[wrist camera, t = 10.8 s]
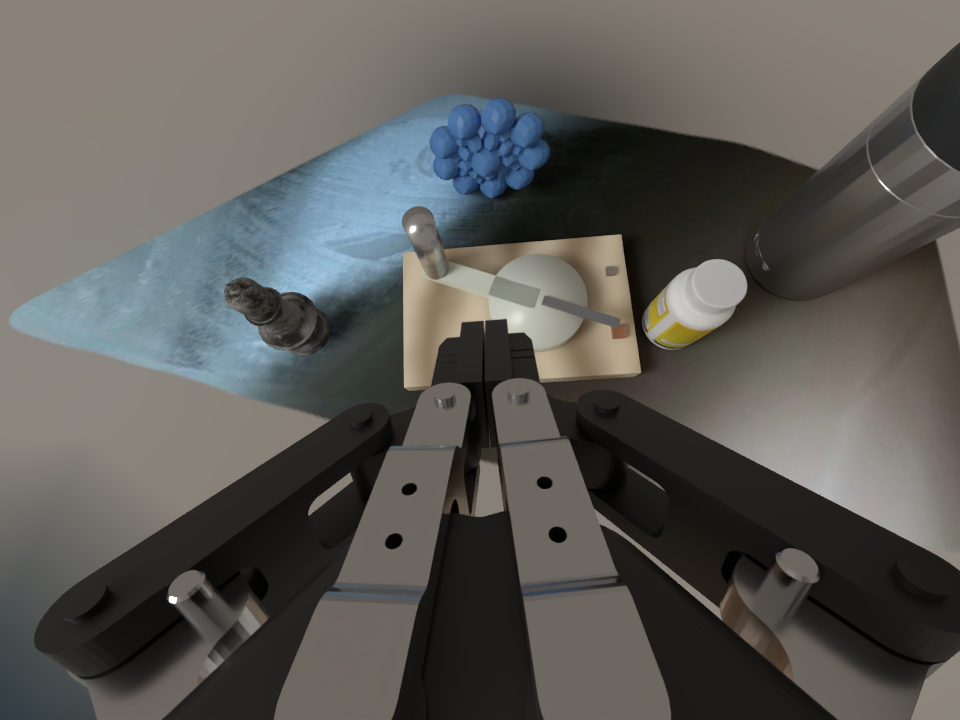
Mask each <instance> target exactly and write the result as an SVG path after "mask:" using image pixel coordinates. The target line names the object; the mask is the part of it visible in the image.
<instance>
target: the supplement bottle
mask: <svg viewBox="0 0 960 720" xmlns="http://www.w3.org/2000/svg"><path fill="white" fill-rule="evenodd" d="M746 292H747V280H746V277H745V275H744V273H743V272H742V271H741V269H740V268H739V267H737V266H736V265H735V264H733V263H731V262H729V261H726V260H721V259H713V260H709V261H706V262H704V263H702V264H701V265H699V266H698V267H696V268H691V269H687V270H685V271H683V272H681V273H680V274H679V275H677V276H676V277H675V278H674V279H673V280H672V281H671V282H670V283H669V284H668V285H667V286H666V287H665V288H664V289H663V290H662V292H661V293H660V294H659V295H658V296H657V297H656V298H655V299H654V300H653V301H652V302H651V303H650V304H649V306H648V307H647V308H646V310H645V312H644V314H643V318H642V327H643V330H644V333H645V334H646V336H647V337H648V339H649V340H650V341H651V342H652V343H654V344H655V345H657V346H659V347H661V348H664V349H668V350H677V349H681V348H684V347H686V346H688V345H690V344H692V343H693V342H695V341H697V340H698V339H700V338H702V337H703V336H705V335H706V334H708V333H710V332H711V331H713V330H714V329H716V328H718V327H719V326H721V325H722V324H724V323H725V322H726V321H727V320H728V319H729V318H730V317H731V316H732V314H733V313H734V310H735V308H736V305H737V304H738V303H740V302H741V301H742V299H743V298H744V297H745V295H746Z"/></svg>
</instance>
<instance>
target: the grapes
mask: <svg viewBox="0 0 960 720" xmlns="http://www.w3.org/2000/svg"><path fill="white" fill-rule="evenodd" d="M543 133H544V123H543V121H542V119H541V117H540V116H538V115H537V114H535V113H530V112H527V113H524V114H521V115H520V116H518V117H517V118H516V109H515V107H514V106H513V104H512V102H510V101H509V100H507V99H505V98H495V99H492V100H491V101H490V102H488V103H487V104H486V105H485V107H484V109H483V111H482V113H481V115H480V113H479V112H478V110H477V108H475V107H474V106H472V105H469V104H462V105H458V106H456V107H455V108H454V109H453V110H452V111H451V113H450V115H449V118H448V126H442V127H439V128H437V129H436V130H435V131H434V132H433V133H432V135H431V138H430V140H429V141H430V148H431V150H432V152H433V153H434V155H436V157H435V159H434V162H433V168H434V171H435V173H436V174H437V176H438V177H440V178H441V179H443V180H449V179H452V178H453V186H454V187H455V189H456V191H458V192H459V193H460V194H463V195H467V194H470V193H472V192H473V191H475V190H476V189H477V187H478V185H479V184H480V190H481V192H482V193H483V194H484V195H485V196H486V197H488V198H495V197H498V196H500V195H501V194H502V193H504V191H505V189H506V188H507V185H508V186H509V187H511V188H512V189H516V190H519V189H522V188H525V187H526V186H527V185H529V184H530V183H531V181H532V179H533V178H534V170H536V169H538V168H540V167H541V166H543V165H544V164H545V163H546V162H547V160H548V158H549V157H550V148H549V146H548V144H547V142H545V141H544V140H542V139H540V138H541V137H542V135H543Z"/></svg>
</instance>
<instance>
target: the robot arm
mask: <svg viewBox="0 0 960 720" xmlns="http://www.w3.org/2000/svg"><path fill="white" fill-rule="evenodd" d="M958 228H960V43H959V44H957V45H956V46H955V47H954V48H953V49H952V50H950V51H949V52H948V53H947V54H946V55H945V56H944V57H943V58H942V59H941V60H939V61H938V62H937V63H936V64H935V65H934V66H933V67H932V68H931V69H930V70H929V71H927V72H926V73H925V74H924V75H923V76H922V77H921V78H920V79H919V80H917V81H916V82H915V83H914V84H913V85H912V86H911V87H910V88H909V89H908V90H906V91H905V92H904V93H903V94H902V95H901V96H900V97H899V98H898V99H897V100H895V101H894V102H893V103H892V104H891V105H890V106H889V107H888V108H887V109H886V110H885V111H884V112H883V113H881V114H880V115H879V116H878V117H877V118H876V119H875V120H874V121H873V122H872V123H870V124H869V125H868V126H867V127H866V128H865V129H864V130H863V131H862V132H861V133H859V135H857V136H856V137H855V138H854V139H853V140H852V141H851V142H850V143H848V144H847V145H846V146H845V147H844V148H843V149H842V150H841V151H840V152H839V153H837V154H836V155H835V156H834V157H833V158H832V159H831V160H830V161H829V162H828V163H826V164H825V165H824V166H823V167H822V168H821V169H820V170H819V171H818V172H817V173H815V174H814V175H813V176H812V177H811V178H810V179H809V180H808V181H807V182H806V183H804V184H803V185H802V186H801V187H800V188H799V189H798V190H797V191H796V192H795V193H793V194H792V195H791V196H790V197H789V198H788V199H787V200H786V201H785V202H783V203H782V204H781V205H780V206H779V207H778V208H777V209H776V210H775V211H774V212H772V213H771V214H770V215H769V216H768V217H767V218H766V219H765V220H764V221H763V222H761V223H760V224H759V225H758V226H757V227H756V228H755V229H754V230H753V232H752V233H751V234H750V236H749V238H748V241H747V243H746V250H745V254H746V262H747V265H748V267H749V270H750V272H751V273H752V275H753V276H754V278H755V279H756V280H757V281H758V282H759V283H760V284H761V285H762V286H763V287H764V288H766V289H767V290H768V291H770V292H772V293H774V294H776V295H778V296H780V297H784V298H787V299H792V300H810V299H814V298H817V297H821V296H823V295H825V294H827V293H829V292H831V291H833V290H835V289H837V288H839V287H841V286H843V285H845V284H847V283H849V282H851V281H853V280H855V279H857V278H859V277H861V276H863V275H865V274H867V273H869V272H871V271H873V270H875V269H877V268H879V267H881V266H883V265H885V264H887V263H889V262H891V261H893V260H896V259H898V258H900V257H902V256H904V255H906V254H908V253H910V252H912V251H914V250H916V249H918V248H920V247H922V246H924V245H926V244H928V243H930V242H932V241H934V240H936V239H938V238H940V237H942V236H943V235H946V234H948V233H950V232H952V231H954V230H956V229H958ZM489 430H490V440H491V447H497V456H498V468H499V476H500V484H501V491H502V499H503V507H504V511H503V512H499V513H495V514H492V515H488V516H484V517H475V509H476V501H477V492H478V484H479V475H480V465H479V461H480V457H481V448H489ZM629 465H631V466H632V467H634V468H635V469H637V470H639V471H640V472H642V473H643V474H645V475H646V476H648V477H649V478H651V479H652V480H654V481H655V482H657V483H658V484H659V485H660V486H661V487H662V488H663V489H664V490H665V491H664V490H662V489H660V488H659V487H657V486H656V485H654V484H653V483H651V482H650V481H648V480H647V479H645V478H644V477H642V476H641V475H639V474H638V473H636V472H635V471H633V470H632V469H630V468H628V466H629ZM348 473H351V476H352V479H353V482H351V483H350V484H349V485H348V486H346V487H345V488H344V489H343V490H341V491H340V492H339V493H337V494H336V495H335V496H334V497H332V498H331V499H330V500H329V501H327V502H326V503H325V504H324V505H322V506H321V507H320V508H318V509H317V510H316V511H315V512H313V513H312V514H311V515H310V516H308V511H309V508H310V506H311V504H312V502H313V501H314V500H315V499H316V498H317V497H318V496H319V495H321V494H322V493H323V492H325V491H326V490H327V489H328V488H330V487H331V486H332V485H334V484H335V483H336V482H338V481H339V480H340V479H342V478H343V477H344V476H346V475H347V474H348ZM594 509H595V510H597V511H598V512H599V513H601V514H602V515H603V516H604V517H606V518H607V519H608V520H609V521H611V522H612V523H613V524H614V525H616V526H617V527H618V528H620V529H621V530H622V531H623V532H624V533H626V534H627V535H628V536H629V537H631V538H632V539H633V540H634V541H636V542H637V543H638V544H640V545H641V546H642V547H643V548H645V549H646V550H647V551H649V552H650V553H651V554H652V555H653V556H655V557H656V558H657V559H658V560H660V561H661V562H662V563H663V564H665V565H666V566H667V567H669V568H670V569H671V570H672V571H673V572H675V573H676V574H677V575H679V576H680V577H681V578H682V579H683V580H685V581H686V582H687V583H689V584H690V585H691V586H692V587H694V588H695V589H696V590H697V591H699V592H700V593H701V594H702V595H704V596H705V597H706V598H707V599H709V600H710V601H711V602H713V603H714V604H715V605H716V606H718V607H719V608H720V614H721V618H722V620H721V619H719V618H718V617H717V616H716V615H714V614H713V613H712V612H711V611H710V610H709V609H708V608H706V607H705V606H704V605H703V604H702V603H701V602H700V601H698V600H697V599H696V598H695V597H694V596H692V595H691V594H690V593H689V592H688V591H687V590H685V589H684V588H683V587H682V586H681V585H680V584H678V583H677V582H676V581H675V580H674V579H673V578H671V577H670V576H669V575H668V574H667V573H666V572H664V571H663V570H662V569H661V568H660V567H658V566H657V565H656V564H655V563H654V562H653V561H651V560H650V559H649V558H648V557H647V556H646V555H645V554H643V553H642V552H641V551H640V550H639V549H637V548H636V547H635V546H634V545H632V543H630V542H629V541H628V540H626V539H625V538H623V537H622V536H621V535H619V534H618V533H616V532H614V531H612V530H610V529H608V528H607V527H605V526H602V525H600V524H599V522H598V519H597V516H596V513H595V511H594ZM34 643H35V646H36V648H37V649H38V650H39V651H40V652H42V653H43V654H45V655H46V656H48V657H49V658H51V659H52V660H54V661H55V662H56V663H58V664H59V665H61V666H62V667H64V668H65V669H67V672H68V674H69V675H70V676H71V677H72V678H73V679H75V680H76V681H78V682H79V683H81V684H82V685H84V686H85V687H87V688H88V689H89V693H90V696H91V699H92V703H93V706H94V709H95V713H96V716H97V720H911V717H912V715H913V712H914V709H915V706H916V703H917V700H918V697H919V694H920V691H921V689H922V686H923V683H924V680H925V679H927V678H928V677H929V676H930V675H931V674H933V673H934V672H935V671H936V670H937V669H939V668H940V667H941V666H942V665H943V664H944V663H946V662H947V661H948V660H949V659H950V658H951V657H953V656H954V655H955V654H956V653H957V652H959V651H960V571H959V570H958V569H956V568H955V567H954V566H953V565H951V564H950V563H948V562H947V561H945V560H944V559H942V558H940V557H939V556H937V555H935V554H933V553H932V552H930V551H928V550H926V549H924V548H922V547H920V546H918V545H916V544H914V543H912V542H910V541H908V540H906V539H904V538H902V537H900V536H898V535H896V534H895V533H893V532H891V531H889V530H887V529H885V528H883V527H881V526H879V525H877V524H875V523H873V522H871V521H869V520H867V519H865V518H863V517H861V516H859V515H857V514H856V513H854V512H852V511H850V510H848V509H846V508H844V507H842V506H840V505H838V504H836V503H834V502H832V501H830V500H828V499H826V498H824V497H822V496H820V495H818V494H816V493H815V492H813V491H811V490H809V489H807V488H805V487H803V486H801V485H799V484H797V483H795V482H793V481H791V480H789V479H787V478H785V477H783V476H781V475H779V474H777V473H776V472H774V471H772V470H770V469H768V468H766V467H764V466H762V465H760V464H758V463H756V462H754V461H752V460H750V459H748V458H746V457H744V456H742V455H740V454H738V453H737V452H735V451H733V450H731V449H729V448H727V447H725V446H723V445H721V444H719V443H717V442H715V441H713V440H711V439H709V438H707V437H705V436H703V435H701V434H699V433H698V432H696V431H694V430H692V429H690V428H688V427H686V426H684V425H682V424H680V423H678V422H676V421H674V420H672V419H670V418H668V417H666V416H664V415H662V414H660V413H659V412H657V411H655V410H653V409H651V408H649V407H647V406H645V405H643V404H641V403H639V402H637V401H635V400H633V399H631V398H629V397H627V396H625V395H623V394H621V393H618V392H615V391H610V390H595V391H590V392H588V393H586V394H584V395H582V396H581V397H580V398H579V400H578V402H577V403H572V402H566V401H561V400H558V399H555V398H553V397H551V396H549V395H548V394H547V393H546V392H545V390H544V388H543V387H542V385H541V384H540V379H539V374H538V369H537V364H536V359H535V354H534V348H533V343H532V339H531V338H529V337H528V336H527V335H526V334H525V333H524V332H521V333H508V325H507V319H498V320H485V329H484V321H471V322H462V323H461V332H460V337H450V338H446V339H445V340H444V341H443V342H442V344H441V345H440V346H439V349H438V354H437V359H436V364H435V368H434V373H433V378H432V383H431V387H430V388H428V389H427V390H425V391H424V392H423V393H422V394H421V395H420V397H419V400H418V403H417V406H416V407H415V408H412V409H410V410H407V411H404V412H401V413H397V414H393V415H389V412H388V410H387V409H386V408H385V407H384V406H382V405H380V404H375V403H366V404H361V405H357V406H354V407H352V408H349V409H348V410H346V411H344V412H343V413H341V414H340V415H338V416H337V417H335V418H333V419H332V420H330V421H329V422H327V423H326V424H324V425H323V426H321V427H319V428H318V429H317V430H315V431H313V432H312V433H310V434H309V435H307V436H305V437H304V438H302V439H301V440H299V441H298V442H296V443H295V444H293V445H291V446H290V447H289V448H287V449H285V450H284V451H282V452H281V453H279V454H277V455H276V456H275V457H273V458H271V459H270V460H268V461H267V462H265V463H264V464H262V465H260V466H259V467H257V468H256V469H254V470H253V471H251V472H249V473H248V474H246V475H245V476H243V477H242V478H241V479H239V480H237V481H236V482H234V483H232V484H231V485H229V486H228V487H226V488H225V489H223V490H221V491H220V492H218V493H217V494H215V495H214V496H212V497H211V498H209V499H208V500H206V501H204V502H203V503H201V504H200V505H198V506H197V507H195V508H193V509H192V510H190V511H189V512H187V513H186V514H184V515H183V516H181V517H179V518H178V519H176V520H175V521H173V522H172V523H170V524H169V525H167V526H165V527H164V528H162V529H161V530H160V531H158V532H156V533H155V534H153V535H152V536H150V537H148V538H147V539H145V540H144V541H142V542H141V543H139V544H138V545H136V546H135V547H133V548H131V549H130V550H128V551H127V552H125V553H123V554H122V555H120V556H119V557H117V558H116V559H114V560H113V561H111V562H109V563H108V564H107V565H105V566H103V567H102V568H100V569H99V570H97V571H96V572H94V573H92V574H91V575H89V576H88V577H86V578H85V579H83V580H82V581H80V582H79V583H77V584H76V585H74V586H73V587H72V588H70V589H69V590H68V591H67V592H65V593H64V594H63V595H62V596H61V597H60V598H59V599H58V600H57V601H56V602H55V603H54V604H53V605H52V606H51V607H50V608H49V610H48V611H47V612H46V613H45V615H44V616H43V618H42V620H41V621H40V623H39V625H38V627H37V629H36V632H35V636H34Z"/></svg>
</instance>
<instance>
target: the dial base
mask: <svg viewBox="0 0 960 720" xmlns="http://www.w3.org/2000/svg"><path fill="white" fill-rule="evenodd" d="M444 251H445V254H446V257H447V260H448V261H450V262H453V263H456V264H459V265H463V266H466V267H469V268H472V269H476V270H479V271H482V272H485V273H489V274H492V275H495V276H496V275H497V274H498V272H499V271H500V270H501V269H502V268H503V267H504V266H505V265H507V264H508V263H509V262H511V261H513V260H515V259H517V258H519V257H522V256H526V255H532V254H544V255H550V256H554V257H556V258H559V259H561V260H563V261H565V262H566V263H568V264H569V265H570V266H572V267H573V268H574V269H575V270H576V271H577V273H578V274H579V275H580V277H581V278H582V280H583V282H584V284H585V287H586V291H587V297H588V304H587V309H591V310H594V311H597V312H600V313H604V314H607V315H610V316H613V317H617V318H620V319H621V321H620V324H619V327H618V328H614V327H611V326H608V325H605V324H601V323H598V322H595V321H592V320H589V319H585V318H584V319H583V321H582V323H581V325H580V327H579V328H578V330H577V332H576V333H575V334H574V336H573V337H572V338H571V339H570V340H569V341H568V342H566V343H565V344H563V345H562V346H560V347H558V348H556V349H553V350H550V351H546V352H534V354H535V359H536V364H537V369H538V374H539V379H540V382H556V381H572V380H588V379H604V378H620V377H635V376H636V375H638V374H640V373H641V367H640V361H639V354H638V347H637V340H636V333H635V326H634V319H633V312H632V306H631V299H630V292H629V285H628V278H627V271H626V264H625V257H624V251H623V244H622V237H621V235H609V236H597V237H585V238H573V239H561V240H549V241H537V242H525V243H513V244H501V245H489V246H477V247H465V248H453V249H444ZM422 270H423V268H422V266H421V263H420V261H419V259H418V257H417V255H416V253H415V252H405V253H403V305H404V388H406V389H407V390H409V391H412V390H427V389H428V388H430V387H431V383H432V378H433V373H434V368H435V364H436V359H437V354H438V349H439V346H440V345H441V344H442V342H443V341H444V340H445V339H446V338H450V337H460V332H461V323H462V322H471V321H484V329H485V320H491V317H490V311H489V304H488V298H485V297H482V296H479V295H476V294H472V293H469V292H466V291H463V290H460V289H457V288H453V287H450V286H447V285H444V284H441V283H438V282H434V281H431V280H428V279H425V278H423V276H422V274H421V273H422Z"/></svg>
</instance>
